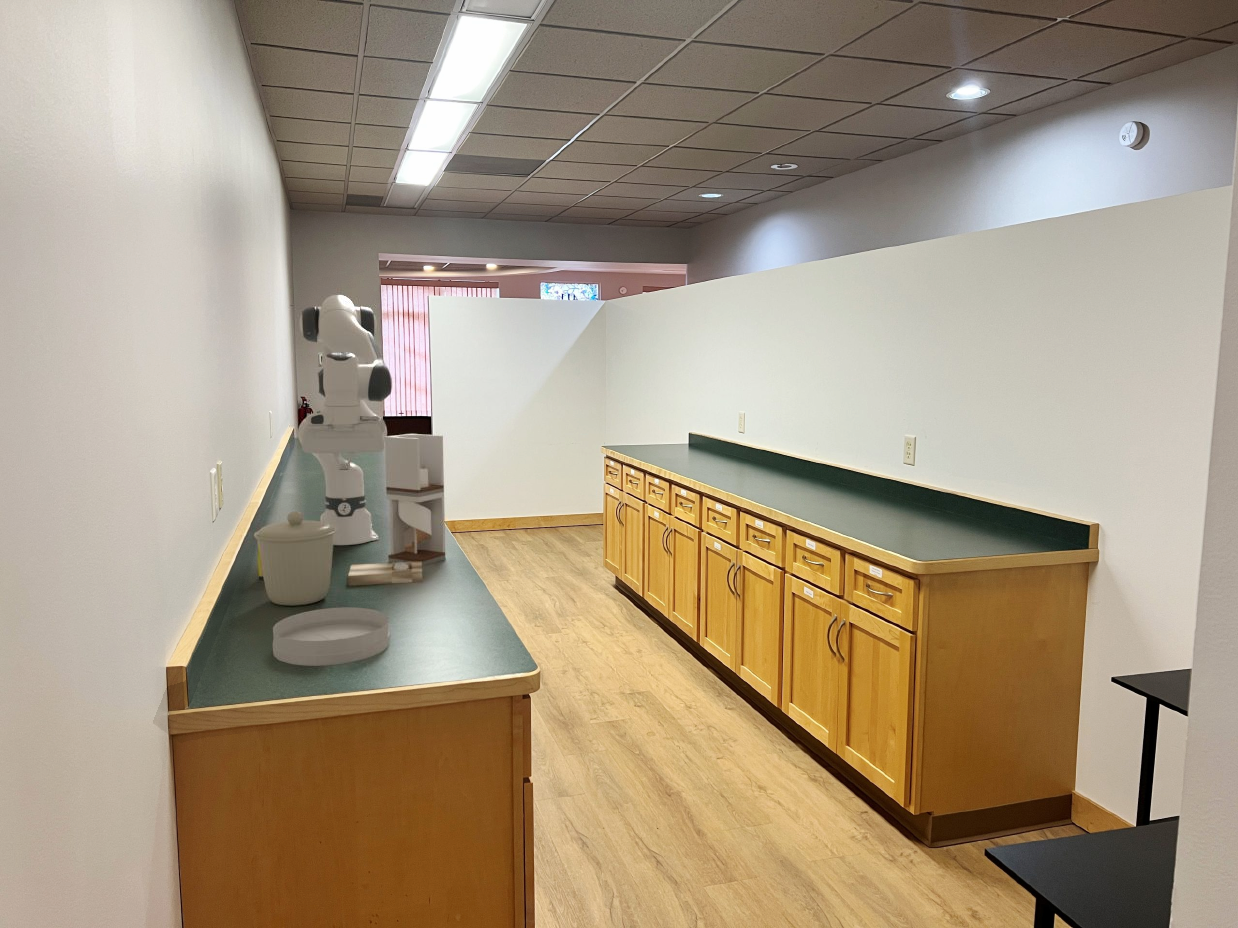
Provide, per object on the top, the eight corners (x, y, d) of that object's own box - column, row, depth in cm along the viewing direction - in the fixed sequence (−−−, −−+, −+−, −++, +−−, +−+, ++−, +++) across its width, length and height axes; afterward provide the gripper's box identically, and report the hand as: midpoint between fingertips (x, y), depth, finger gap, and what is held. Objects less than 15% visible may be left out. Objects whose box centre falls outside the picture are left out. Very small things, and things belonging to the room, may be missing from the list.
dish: (412, 646, 175) (411, 622, 174) (309, 676, 159) (308, 649, 158) (352, 623, 190) (351, 600, 189) (252, 648, 174) (251, 623, 173)
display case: (388, 562, 245) (384, 436, 240) (414, 554, 254) (411, 433, 250) (420, 566, 239) (416, 438, 235) (445, 558, 249) (442, 435, 244)
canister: (252, 613, 196) (247, 520, 193) (262, 592, 213) (258, 506, 210) (337, 607, 200) (334, 516, 198) (340, 587, 218) (337, 503, 215)
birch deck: (351, 574, 231) (351, 564, 231) (421, 570, 235) (421, 561, 235) (348, 585, 220) (348, 575, 219) (422, 581, 224) (422, 571, 223)
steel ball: (404, 577, 231) (390, 571, 229) (411, 563, 231) (397, 557, 229) (405, 581, 227) (390, 575, 225) (412, 567, 227) (397, 561, 225)
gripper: (384, 414, 230) (386, 466, 233) (302, 415, 226) (304, 468, 228) (384, 417, 224) (385, 470, 226) (299, 418, 219) (302, 472, 222)
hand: (344, 469), depth 227 cm, fingers closed
